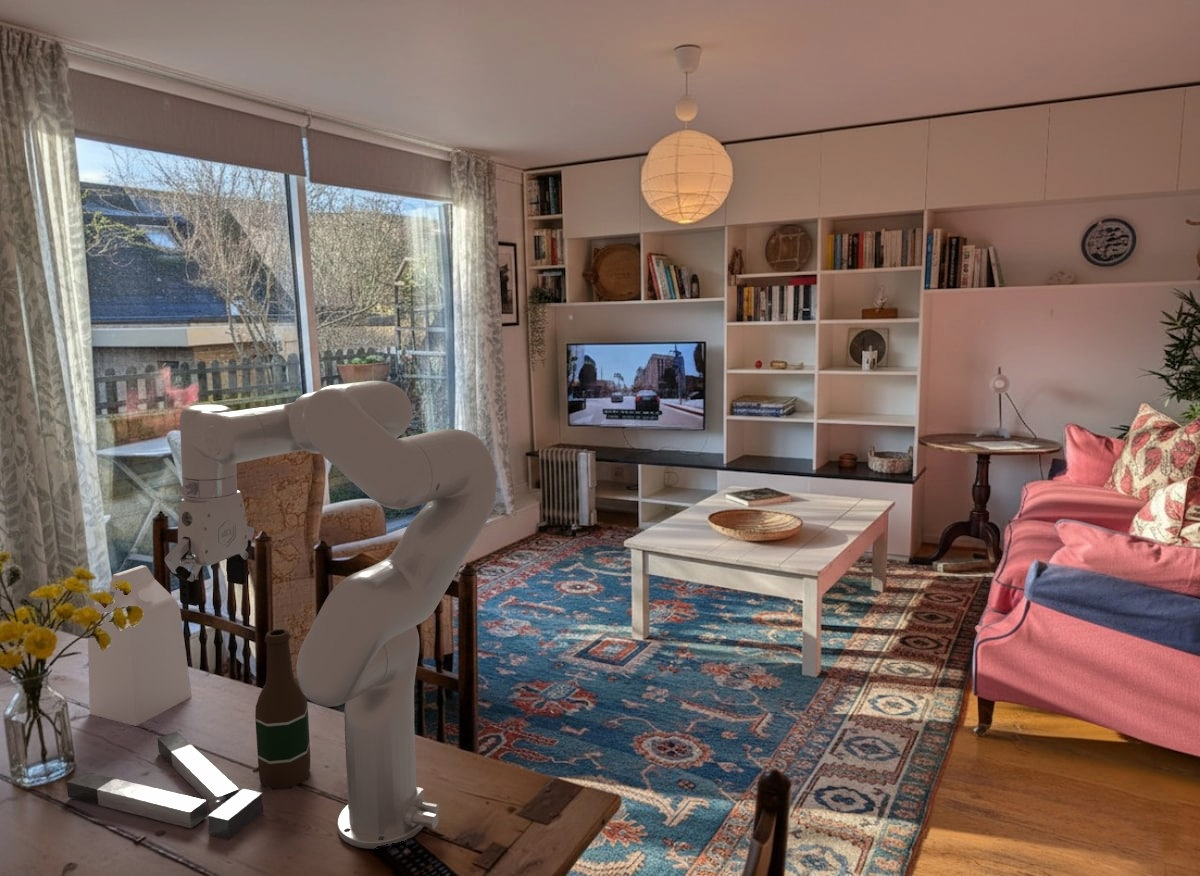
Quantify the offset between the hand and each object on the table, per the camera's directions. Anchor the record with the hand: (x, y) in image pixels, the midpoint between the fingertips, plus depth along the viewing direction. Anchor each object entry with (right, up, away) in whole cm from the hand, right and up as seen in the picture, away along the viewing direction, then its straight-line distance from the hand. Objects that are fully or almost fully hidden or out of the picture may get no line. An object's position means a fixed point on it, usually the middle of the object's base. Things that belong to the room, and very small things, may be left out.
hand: (214, 593), depth 128 cm
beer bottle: (+11, -29, +1) cm, 31 cm away
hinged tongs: (-4, -30, -6) cm, 31 cm away
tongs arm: (-3, -29, 0) cm, 29 cm away
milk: (-25, -26, +24) cm, 43 cm away
